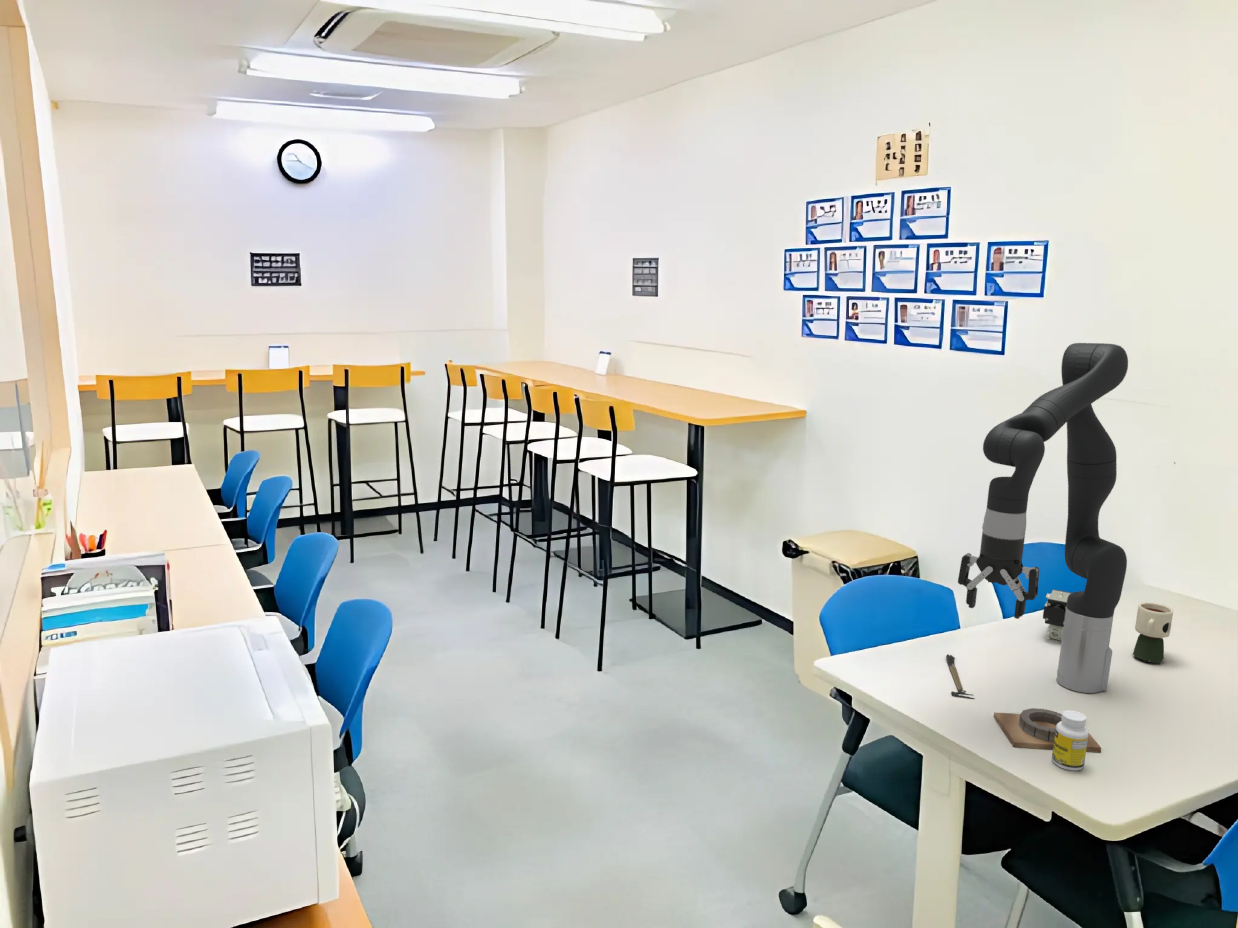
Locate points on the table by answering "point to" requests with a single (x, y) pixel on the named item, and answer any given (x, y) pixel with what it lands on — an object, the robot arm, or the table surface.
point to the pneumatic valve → (1055, 613)
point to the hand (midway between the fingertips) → (994, 612)
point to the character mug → (1152, 631)
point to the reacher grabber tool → (956, 678)
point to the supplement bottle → (1070, 741)
